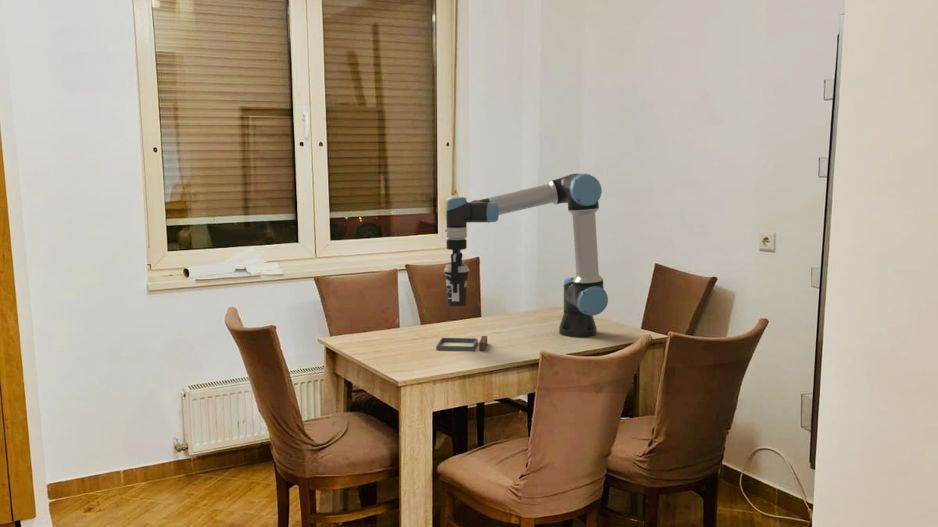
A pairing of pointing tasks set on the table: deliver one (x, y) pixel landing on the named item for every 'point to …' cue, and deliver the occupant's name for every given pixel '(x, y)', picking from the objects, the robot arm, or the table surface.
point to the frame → (464, 348)
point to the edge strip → (483, 343)
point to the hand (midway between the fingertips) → (456, 299)
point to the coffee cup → (462, 283)
